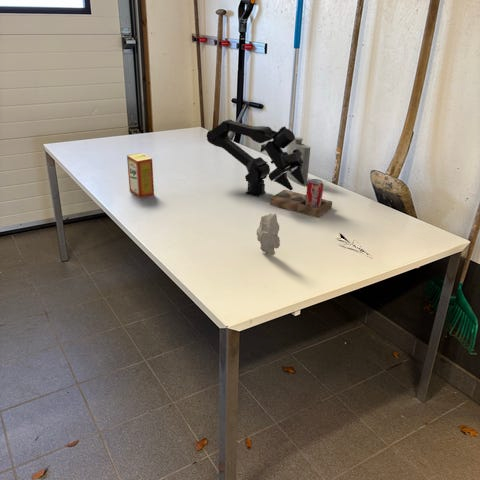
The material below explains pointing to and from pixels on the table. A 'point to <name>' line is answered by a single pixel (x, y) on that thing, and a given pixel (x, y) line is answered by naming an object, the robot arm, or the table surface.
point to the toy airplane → (350, 243)
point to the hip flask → (305, 157)
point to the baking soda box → (140, 175)
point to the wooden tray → (299, 203)
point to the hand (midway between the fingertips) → (297, 186)
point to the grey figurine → (268, 233)
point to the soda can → (314, 193)
